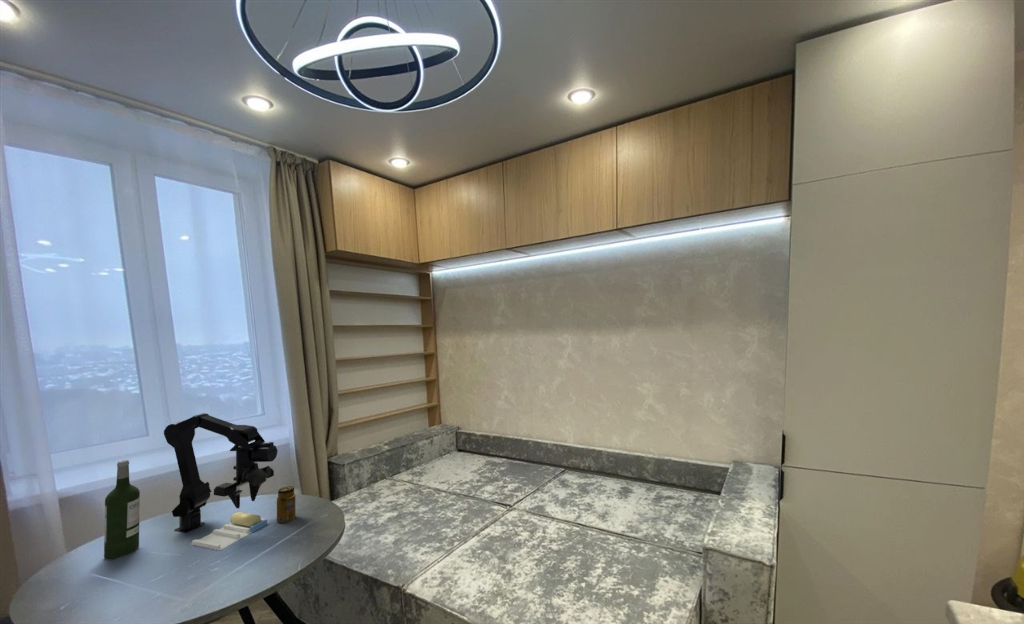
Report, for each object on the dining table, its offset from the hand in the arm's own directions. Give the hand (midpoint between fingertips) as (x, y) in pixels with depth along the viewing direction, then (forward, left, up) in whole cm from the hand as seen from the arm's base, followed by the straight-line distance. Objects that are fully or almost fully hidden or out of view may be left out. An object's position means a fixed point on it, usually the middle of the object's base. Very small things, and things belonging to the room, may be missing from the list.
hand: (245, 504), depth 135 cm
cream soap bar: (0, 0, -8) cm, 8 cm away
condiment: (+12, +6, -8) cm, 16 cm away
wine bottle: (-25, -23, -8) cm, 35 cm away
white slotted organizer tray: (0, -5, -8) cm, 9 cm away
